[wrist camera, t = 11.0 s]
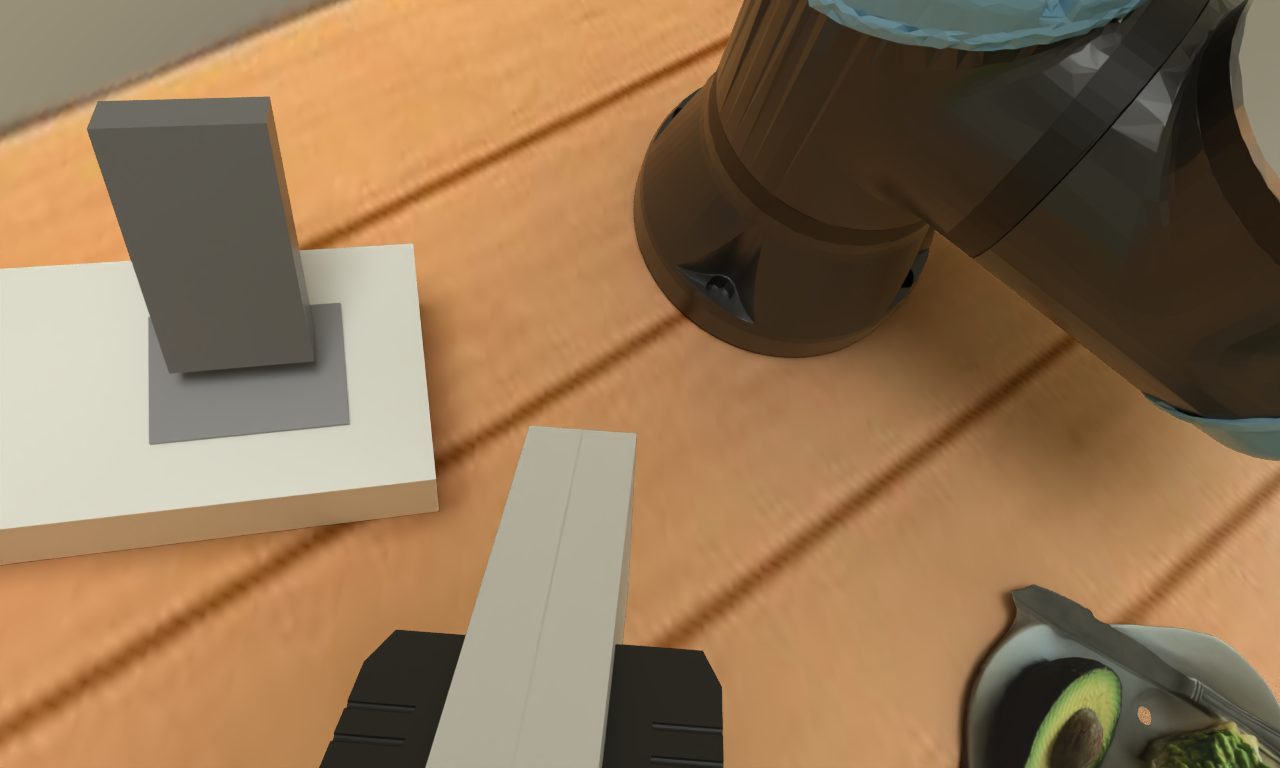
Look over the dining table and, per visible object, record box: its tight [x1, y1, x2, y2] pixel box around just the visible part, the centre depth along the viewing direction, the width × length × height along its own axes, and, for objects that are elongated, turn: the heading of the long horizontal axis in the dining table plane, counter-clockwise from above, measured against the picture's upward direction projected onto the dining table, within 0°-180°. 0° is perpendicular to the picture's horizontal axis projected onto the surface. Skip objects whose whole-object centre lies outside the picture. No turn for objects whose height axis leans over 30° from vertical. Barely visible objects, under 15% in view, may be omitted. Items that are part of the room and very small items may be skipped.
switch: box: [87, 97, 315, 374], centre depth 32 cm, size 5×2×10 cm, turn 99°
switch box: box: [0, 244, 439, 565], centre depth 37 cm, size 27×10×6 cm, turn 99°
